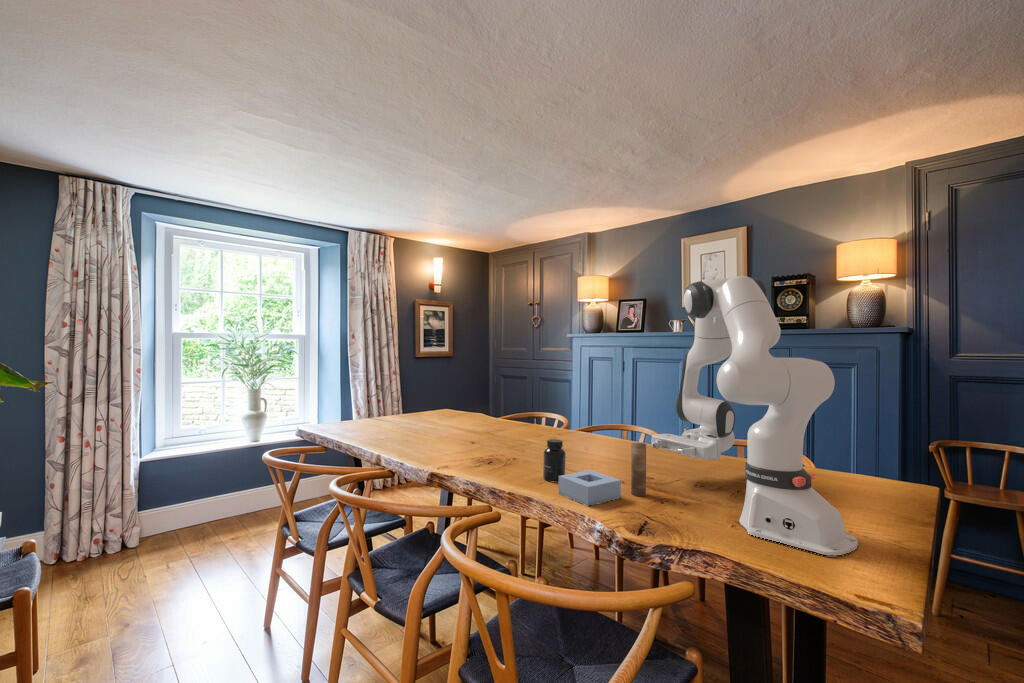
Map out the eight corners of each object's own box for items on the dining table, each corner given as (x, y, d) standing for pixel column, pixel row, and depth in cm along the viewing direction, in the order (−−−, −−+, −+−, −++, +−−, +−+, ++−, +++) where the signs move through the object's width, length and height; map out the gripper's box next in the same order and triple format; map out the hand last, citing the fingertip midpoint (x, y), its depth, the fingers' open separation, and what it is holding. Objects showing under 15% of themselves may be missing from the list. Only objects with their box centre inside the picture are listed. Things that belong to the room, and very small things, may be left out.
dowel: (649, 494, 128) (649, 444, 128) (639, 497, 126) (639, 446, 126) (637, 491, 132) (638, 442, 132) (628, 493, 129) (628, 443, 130)
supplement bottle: (541, 481, 140) (541, 442, 141) (545, 475, 147) (545, 437, 147) (563, 483, 139) (564, 443, 139) (566, 477, 145) (566, 438, 146)
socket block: (620, 498, 125) (620, 480, 125) (587, 506, 118) (588, 487, 118) (590, 487, 135) (590, 469, 135) (558, 493, 128) (558, 475, 129)
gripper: (667, 427, 152) (639, 432, 145) (725, 439, 135) (696, 445, 128) (667, 446, 152) (638, 452, 145) (725, 460, 135) (696, 467, 128)
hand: (666, 448), depth 136 cm, fingers open, 8 cm apart
